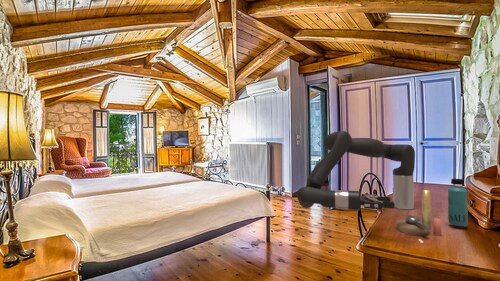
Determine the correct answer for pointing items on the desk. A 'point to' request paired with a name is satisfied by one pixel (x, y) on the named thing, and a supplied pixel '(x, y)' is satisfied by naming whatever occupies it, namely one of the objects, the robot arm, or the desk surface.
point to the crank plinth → (411, 228)
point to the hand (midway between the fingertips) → (392, 202)
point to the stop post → (437, 226)
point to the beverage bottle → (457, 204)
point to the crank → (423, 212)
